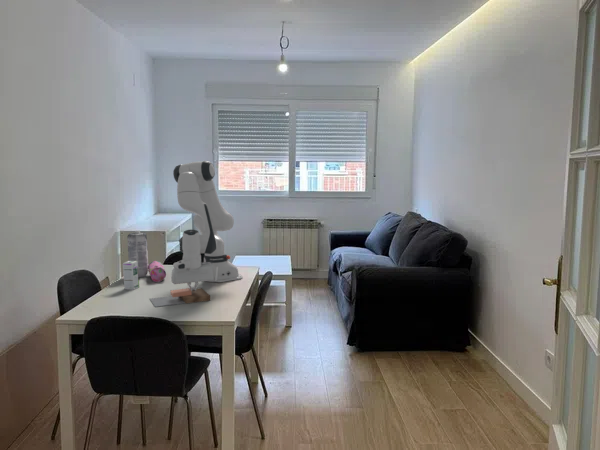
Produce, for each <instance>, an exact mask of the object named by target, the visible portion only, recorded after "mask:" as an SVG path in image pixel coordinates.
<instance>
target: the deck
mask: <svg viewBox="0 0 600 450" xmlns="http://www.w3.org/2000/svg"><path fill="white" fill-rule="evenodd" d="M191 292H192V295H186V296H179V297H180V298H181V299H182V300H183V301H184V302H185V304H190V303H191V304H192V303H200V302H201V303H202V302H207V301H211V295H210V294H209V293H208V292H207V291H205V289H203V287H202V288H201V287H200V288H196V291H191Z"/></svg>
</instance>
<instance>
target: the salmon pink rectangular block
mask: <svg viewBox="0 0 600 450" xmlns="http://www.w3.org/2000/svg"><path fill="white" fill-rule="evenodd" d="M186 295H192V292H191V290H190V287H186V288H179V289H178V288H177V289H172V290H170V296H172V297H179V296H186Z"/></svg>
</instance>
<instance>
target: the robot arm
mask: <svg viewBox="0 0 600 450" xmlns="http://www.w3.org/2000/svg"><path fill="white" fill-rule="evenodd" d="M215 171H216V170H215V167H214V164H213V163H212V162H211V161H210V160H203V161H191V162H187V163H183V164H182V163H181V164H178V165H176V166H174V169H173V179H174V181H175V182H176V183H177V187H176V192H177V203H178V205H179V206H180V208H182V209H183V210H185V211H186V212H190V213H192V214H195V215H194V217H193V225H194V227H195V228H196V229H197V230H196V229H186V230H185V231H183V232H182V236H181V237H180V238H179V240H178V242H179V251H180V252H181V253H183V254H182V259H181V260H179V261H177V262H174V263H173V265H172V266H173V269H172V270H171V276H170V277H171V281H170V282H171V283H172V284H173V285H182V284H187V286H188V288H189V289H190V290H191V291H196V289H197V287H198V286H199V283H200V282H209V283H210V282H211V283H224V282H231V281H237V280H242V279H243V275H242V274H240V273H239V270H238V269H239V268H238V266H236V265H235V264H234V263H232V262H230V261H229V260H230V259H231V256H230V255H229V254H228V255H227V254H225V241H224V239H223V238H222V237H221V236H220V234H219V233H218V232H227V231H230V230H231V229H232V228H233V227H234V224H235V219H234V217H233V215H232V214H231V213H229V212H228V211H227V209H226V208H224V206H223V204H222V203H221V201H220V199H219V197H218V194H217V190H216V186H215V182H214V180H213V179H214V177H215V175H216V173H215ZM201 254H204V255H203V261H202V255H201ZM192 283H194V286H192Z"/></svg>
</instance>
